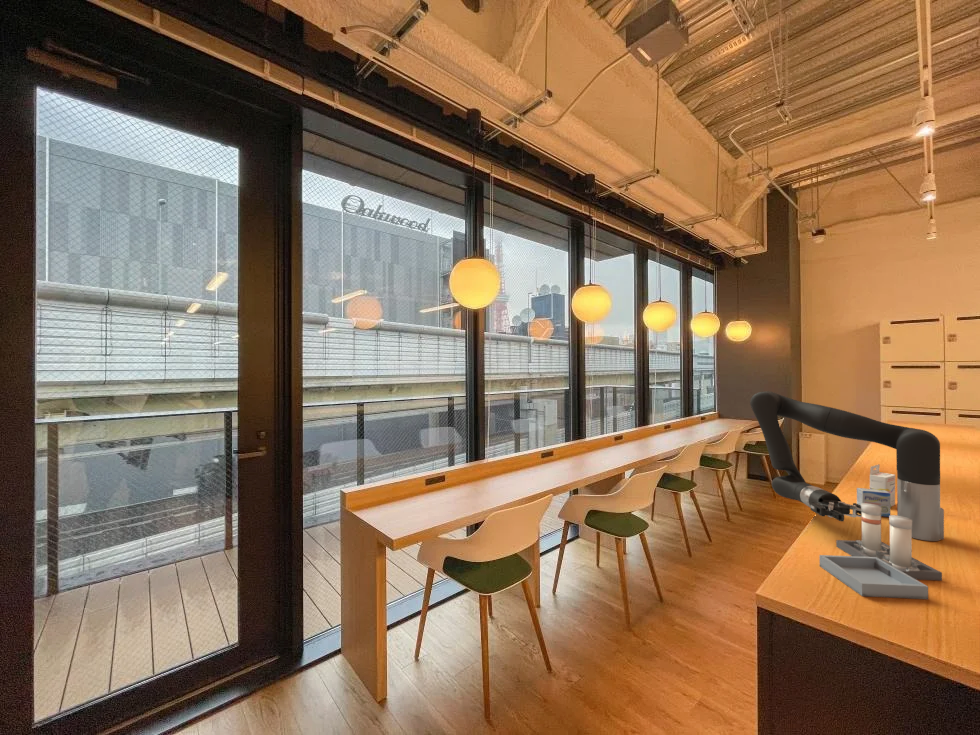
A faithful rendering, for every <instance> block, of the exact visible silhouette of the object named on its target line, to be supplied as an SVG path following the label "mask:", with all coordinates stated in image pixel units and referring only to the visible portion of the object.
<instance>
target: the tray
mask: <svg viewBox="0 0 980 735" xmlns="http://www.w3.org/2000/svg"><path fill="white" fill-rule="evenodd" d="M874 562H876V563H878V564H879V565H881V566H883V567H885V568H886V569H888V570H890V576H888V575H886V574H885V573H883V572H881V571H879V570H878V569H876V568H874ZM819 567H820V568H822V569H823V570H825V571H826V572H828V573H829V574H830V575H832V576H833V577H834V578H836V579H837V580H839V581H840V582H842V583H843V584H844V585H845V586H847V587H848V588H850V589H851V590H853V591H854V592H855V593H857V594H859V596H861V597H870V598H871V597H872V598H875V597H876V598H892V599H912V600H913V599H915V600H929V586H928V585H926V584H924V583H923V582H921V581H920V580H918V579H914V578H912V577H910V576H909V575H907V574H905V573H903V572H902V571H900V570H898V569H896V568H895V567H893V566H891V565H889V564H888V563H886V562H884V561H882V560H880V559H879V558H877V557H859V556H851V555H834V554H833V555H827V554H819Z"/></svg>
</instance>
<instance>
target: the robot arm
mask: <svg viewBox="0 0 980 735" xmlns="http://www.w3.org/2000/svg"><path fill="white" fill-rule="evenodd" d="M749 403H750V404H749V405H750V407H751V410H752V411H753V414H754V416H755V419H756V421H757V422H758V424H759V428H760V429H761V432H762V435H763V438H764V441H765V445H766V449H767V452H768V455H769V459H770V462H771V466H772V468H773V469H775V470H777V471H784V472H786V473H787V475H781V476H776V477H774V478H773V479H772V481H771V488H772V489H773V491H774V492H775V493H776V494H777V495H778V496H781V497H783V498H786V499H790V500H793V501H798V502H800V503H802V504H804V505H805V506H807V507H808V508H810V511H812V512H813V513H815V514H817V515H819V516H821V517H825V516H827V517H829V518H833V519H835V520H837V521H839V522H841V523H842V522H843V523H844V522H845V516H847V517H851V518H857V517H858V518H861V516H862V512H861V505H859V504H857V502H853V503H852V504H849V503H846V502H845V501H842V500H841V499H840V497H839V496H838V495H836V494H834V493H833V492H830V491H828V490H825V489H823V488H820V487H818V486H815V485H812V484H810V483H807V482H806V480H805V478H804V477H803V475H802V474H801V472H800V471H799V469H798V468H797V465H796V463H795V462H794V458H793V454H792V451H791V448H790V445H789V443H788V441H787V438H786V437H785V435H784V433H783V431H782V429H781V426H780V423H779V418H778V417H784V418H788V419H790V420H794V421H797V422H799V423H801V424H802V425H805V426H807V427H809V428H812V429H814V430H818V431H820V432H823V433H826V434H830V435H832V436H837V437H839V438H840V437H841V438H846V439H852V440H857V441H865V442H871V443H874V444H880V445H883V446H885V447H889V448H892V449H895V452H896V475H897V478H896V479H897V480H896V482H897V483H896V486H897V487H896V488H897V489H896V492H897V495H896V496H897V497H896V500H897V504H896V505H897V506H896V507H897V508H896V510H897V513H896V514H897V516H902V517H906V518H909V519H911V520H912V538H913V539H916V540H921V541H927V542H938V541H940V540H945V510H944V508H943V507H941V442H940V440H939V439H938V437H937V436H936V435H934V434H933V433H931V432H930V431H927V430H925V429H920V428H913V427H908V426H902V425H898V424H897V425H896V424H893V423H888V422H887V423H886V422H882V421H880V420H877V419H876V420H875V419H874V418H870V417H867V416H864V415H861V414H857V413H854V412H850V411H846V410H845V409H844V410H843V409H839V408H836V407H833V406H832V407H831V406H826V405H821V404H818V403H817V404H816V403H813V402H804V401H800V400H796V399H792V398H790V397H788V396H787V397H786V396H784V395H781V394H779V393H777V392H776V393H775V392H773V391H765V390H764V391H759V392H756V393H754V394H753V395H752V397H750V401H749ZM851 511H852V513H851Z"/></svg>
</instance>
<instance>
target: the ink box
mask: <svg viewBox="0 0 980 735" xmlns="http://www.w3.org/2000/svg"><path fill="white" fill-rule="evenodd" d="M869 489H876V490H885V491H887V492H889V493H890V508H891V507H894V506H895V505H896V474H892V473H888V472H883V471H882V472H880V464H875V465H873V466H872V465H871V466H870V469H869Z"/></svg>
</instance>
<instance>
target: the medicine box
mask: <svg viewBox="0 0 980 735" xmlns="http://www.w3.org/2000/svg"><path fill="white" fill-rule="evenodd" d="M862 503H868V504H874V505H878V506H880V507H881V517H882V516H883V518H889V516H890V515H891V507H890V493H889V492H887V491H885V490H876V489H870V488H863V487H856V504H859V505H861V504H862Z"/></svg>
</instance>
